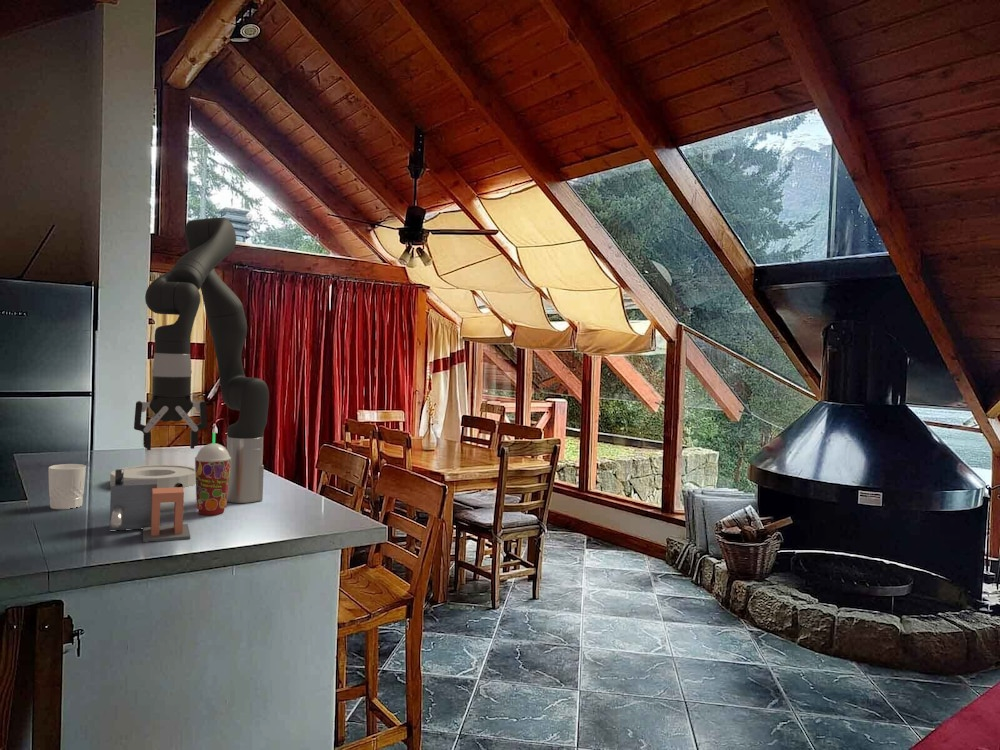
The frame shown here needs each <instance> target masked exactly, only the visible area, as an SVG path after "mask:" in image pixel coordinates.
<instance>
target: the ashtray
mask: <svg viewBox="0 0 1000 750" xmlns="http://www.w3.org/2000/svg"><path fill="white" fill-rule="evenodd" d="M120 469H123V470H124V478H123V481H128V480H155V479H157V488H173V487H179V486H180V485H181V484H182V487H183V489H186V488H185V487H188V488H190V487H189V486H191V487H194V486H196V485H195V484H196V473H195V466H189V465H178V464H149V465H147V464H146V465H133V466H126V467H121V468H120ZM116 470H117V469H115V470H112V471H110V476H109V477H110V478H109V479H110V481H109V484H110V485H111V484H112V481H115V471H116ZM179 484H180V485H179ZM110 485H109V486H110ZM178 485H179V486H178ZM193 485H194V486H193Z"/></svg>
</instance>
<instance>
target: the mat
mask: <svg viewBox="0 0 1000 750" xmlns="http://www.w3.org/2000/svg"><path fill="white" fill-rule="evenodd" d="M190 533H191V532H190V528H189V525H188V523H183V534H175V532H174V524H167V525H166V524H165V525H160V529H159V535H158V536H151V526H149V527H143V530H142V543H147V542H146V541H156V542H165V541H164V540H169V541H180V539H183V540H191V534H190ZM144 541H145V542H144Z"/></svg>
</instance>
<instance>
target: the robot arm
mask: <svg viewBox="0 0 1000 750" xmlns="http://www.w3.org/2000/svg"><path fill="white" fill-rule="evenodd" d="M184 234H185V240H186V245H187V250H188V251H187V252H186V253H185V254H183V255H182V256H181V257H179V259H178V260H177V261H176V262H175V264H174V265H173V267H172V268H171V269H170V271H169V270H168V271H166V272H165V273H164V274H162V275H160V276H159V277H157V278H155V279H154V280H152V282H151V283H150V284H149V285H148V287H147V289H146V291H145V296H144V298H145V300H144V301H145V304H146V306H147V308H148V309H149V310H150V311H151V312H152V313H154V314H158V315H173V316H174V315H176V316H178V317H177V319H176V321H175V322H174V323H172V324H165V325H160V326H158V327H156V328H155V330H154V348H153V349H154V350H153V351H154V354H153V359H152V360H153V361H152V371H151V372H152V383H151V384H152V390H151V391H152V394H151V395H152V397H151V400H150V402H149V401H141V400H138V401H136V402H135V408H134V409H135V411H134V422H133V429H134V430H135V431H139V432H142V434H143V437H142V438H143V440H142V441H143V443H142V445H143V448H146V450H147V451H151V449H152V447H151V446H152V445H151V444H152V431H151V430H152V429H153V428H154V427H155V426H156V424H157V423H158V422H159V421H162V422H163V423H164V422H165V423H166V422H170V421H172V422H180V421H182V420H183V421H184V422H185V423H186V424H187V425H188V427H189V428H190V429H191V430H190V435H189V437H190V441H189V442H190V443H189V445H190V449H195V447H196V446H198V444H199V431H201V430H204V429H206V428H207V427H208V417H207V414H208V413H207V402H206V401H205V400H200V401H192V398H191V397H192V396H191V395H192V394H191V392H192V391H191V390H192V372H193V371H192V360H191V338H192V337H191V336H192V331H193V327H194V323H195V320H196V317H197V313H198V310H199V308H200V304H201V297H202V299H203V304H204V309H205V315H206V319H207V324H208V328H209V330H210V335H211V339H212V342H213V348H214V349H213V350H214V352H215V353H214V354H215V357H216V362H217V368H218V377H219V385H220V392H221V396H222V400H223V402H224V404H225V406H226V407H227V408H229V409H230V410H233V411H239V416H238V419H237V420H236V422H235V423H233V424H230V425H228V427H227V430H226V431H227V433H226V435H227V436H226V449H227V451H228V453H229V455H230V457H231V465H230V475H229V485H228V495H227V502H228V503H236V504H243V503H244V504H247V503H253V502H254V503H255V502H259V501H261V502H262V501H263V499H264V498H263V497H264V473H265V471H264V469H265V466H264V464H263V456H264V431H265V430H266V427H267V423H268V416H269V415H268V414H269V404H270V391H269V386H268V385H267V383H266V381H264V380H263V379H262V378H258V377H249V376H248V377H247V376H246V374H245V372H244V365H243V362H242V352H243V348H244V344H245V342H246V338H247V333H248V323H247V319H246V315H245V314H246V313H245V309H244V305H243V302H241V300H240V298H239V297H238V296H237V294H236V293H235V292H234V291H233V290H232V289H231V288H230V287H229V286H228V285H227V284H226V283H225V282H224V280H223V279H221V278H220V276H219V275H218V274H217V272H216V270H215V268H216V267H217V266H218V265H219V264H220V263H221V262H222V261H223V260H224V259H226V258H227V257H228V256H229V255H230V254H231V253H232V252H233V251H234V250H235V248H236V244H237V234H236V230H235V228H234V225H233V223H232V222H231V221H230V220H229V219H228V218H225V217H207V218H200V219H192V220H189V221H187V222H186V224H185V226H184ZM199 290H200V291H201V292H200V291H199ZM193 407H194V408H195V410H196V412H199V423H197V424H196V423H195V422H194V420H193V419H192V418H191V417H190V415H188V414H189V412H190V411H191V410H192V409H193ZM148 408H150V410H151V411H152V412H153V413H154V415H152V417H151V418H150V419H149V420H148V422H147V423H146V424H142V422H141V421H142V413H145V412H146V411H147V409H148Z"/></svg>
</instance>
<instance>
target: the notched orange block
mask: <svg viewBox="0 0 1000 750" xmlns="http://www.w3.org/2000/svg"><path fill="white" fill-rule="evenodd" d="M184 497H185V492H184V488H183V486H177V487H173V488H152V515H151V536H158V535H159V529H160V526H161V525H160V524H161V523H160V522H161V503H173V504H174V507H173V508H174V510H173V512H174V513H173V525H174V532H175V534H183V524H184V499H185V498H184Z"/></svg>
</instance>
